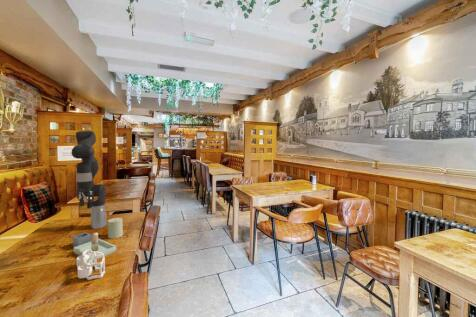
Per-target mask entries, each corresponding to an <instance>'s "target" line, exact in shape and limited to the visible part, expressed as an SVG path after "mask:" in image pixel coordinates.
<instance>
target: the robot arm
mask: <svg viewBox="0 0 476 317" xmlns="http://www.w3.org/2000/svg"><path fill="white" fill-rule="evenodd" d="M75 140H76V142H77V143H76V144H77V145H74V146H73V148H72V149H71V156H72V157H73V158H74V159H79V160H80V159H81V162H77V163H76V167H75V168H76V176H75V177H76V179H75V180H76V199H77V200H78V202H79V207H84V206H85V201H86V208H87V209H90V227H91V229H93V230H97V229H102V228H104V227H106V226H108V220H107V212H106V204H105V203H106V186H105V184H95V183H94V179H95V177H96V175H97V174H98V172H99V169H100V167H99V162H98V159H97V158H96V157H95V156H94V155H95V149H94V147H93V146H94V144H96V141H97V137H96V134H95V132H94V131H91V130H85V131H82V130H81V131H76V132H75ZM96 197H97V199H95V198H96Z"/></svg>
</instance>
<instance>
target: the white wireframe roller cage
mask: <svg viewBox="0 0 476 317" xmlns="http://www.w3.org/2000/svg"><path fill="white" fill-rule="evenodd" d="M89 252H91V253H92V254H94V261H91V260H90V255H89ZM85 253H87V254H85ZM84 254H85V255H84ZM96 254H98V255H97V256H96ZM99 257H101V261H100V262H98V259H97V258H99ZM105 258H106V256H104V254H103V253H102V252H97V251H92V250H91V249H87V250H85V251H84V252H83V255H81V256H79V255H78V256H77V258H76V267H77V278H78V279H87V280H88V281H89V280H93V279H101V278H103V277H104V275H105V274H106V262H105V261H106V259H105ZM99 259H100V258H99ZM93 267H94V270H95V271H97V270H99V274H97V275H92V274H93ZM91 275H92V276H91Z"/></svg>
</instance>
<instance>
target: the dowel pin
mask: <svg viewBox="0 0 476 317" xmlns="http://www.w3.org/2000/svg"><path fill="white" fill-rule="evenodd" d="M90 234H91V249H92V251H97V250H98V239H99V233H98V232H93V233H90Z"/></svg>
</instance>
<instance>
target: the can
mask: <svg viewBox="0 0 476 317" xmlns="http://www.w3.org/2000/svg"><path fill="white" fill-rule="evenodd" d="M123 222H124V220H123V218H122V217H112V218H109V219H108V220H107V229H108V230H107V232H108V233H107V238H108V239H111V240H112V239H119V238H121V237H122V236H124V231H123V227H124V225H123Z"/></svg>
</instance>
